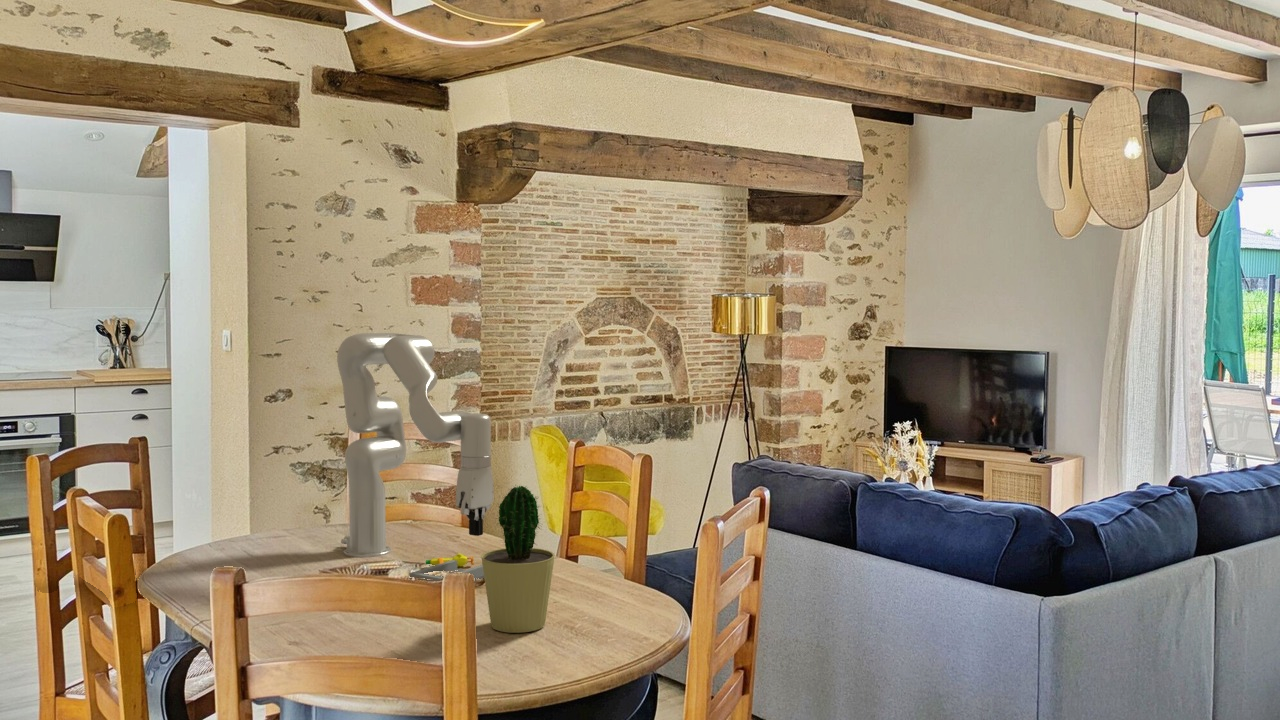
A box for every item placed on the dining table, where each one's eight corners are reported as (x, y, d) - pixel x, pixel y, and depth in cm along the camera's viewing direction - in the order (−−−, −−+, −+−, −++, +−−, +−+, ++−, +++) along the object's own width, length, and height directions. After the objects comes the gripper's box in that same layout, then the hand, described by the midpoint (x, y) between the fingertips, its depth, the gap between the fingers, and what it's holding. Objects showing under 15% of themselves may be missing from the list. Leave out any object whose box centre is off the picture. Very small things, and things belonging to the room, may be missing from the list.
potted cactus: (511, 610, 233) (510, 475, 232) (568, 621, 225) (569, 481, 224) (465, 628, 220) (465, 485, 219) (525, 640, 212) (525, 491, 211)
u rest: (407, 585, 254) (407, 573, 254) (451, 571, 268) (451, 559, 268) (446, 592, 248) (446, 579, 248) (488, 577, 262) (488, 565, 262)
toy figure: (474, 560, 269) (426, 563, 266) (474, 572, 270) (426, 576, 267) (472, 548, 275) (425, 552, 272) (472, 561, 276) (425, 565, 273)
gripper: (482, 458, 275) (482, 528, 275) (444, 465, 262) (445, 538, 262) (505, 460, 271) (505, 531, 272) (468, 467, 258) (468, 542, 259)
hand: (475, 534), depth 267 cm, fingers closed
